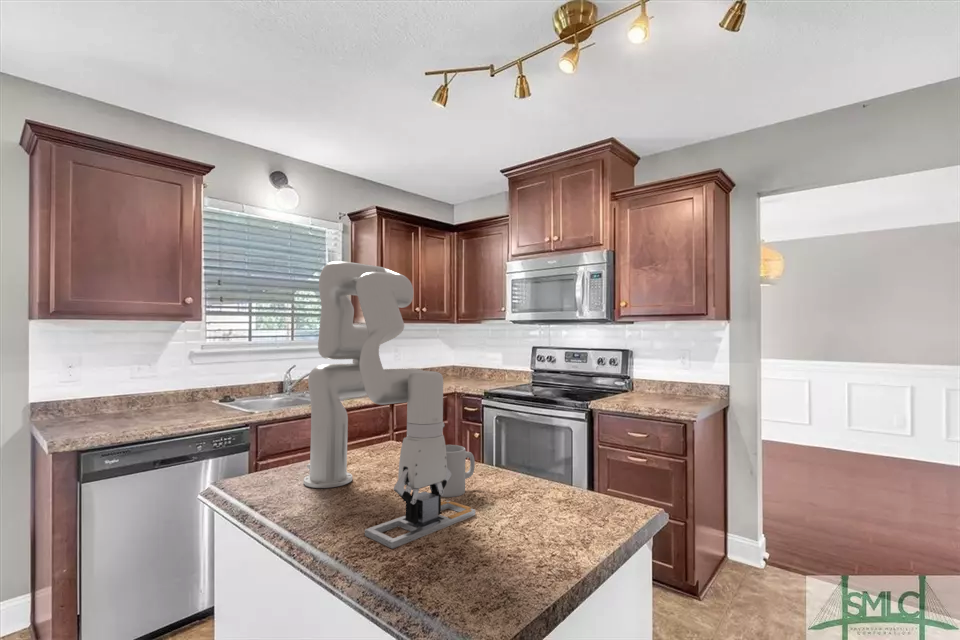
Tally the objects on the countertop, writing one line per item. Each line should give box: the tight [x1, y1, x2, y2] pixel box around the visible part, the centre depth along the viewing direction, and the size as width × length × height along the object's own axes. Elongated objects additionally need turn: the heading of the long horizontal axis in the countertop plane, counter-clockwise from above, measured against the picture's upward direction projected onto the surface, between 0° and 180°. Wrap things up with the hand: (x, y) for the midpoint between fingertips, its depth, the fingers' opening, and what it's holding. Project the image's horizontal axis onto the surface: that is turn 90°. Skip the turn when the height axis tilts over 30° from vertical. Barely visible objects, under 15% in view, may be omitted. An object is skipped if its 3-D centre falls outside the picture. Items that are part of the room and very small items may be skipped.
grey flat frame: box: [364, 500, 476, 550], centre depth 99 cm, size 9×23×1 cm, turn 139°
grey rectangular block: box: [408, 490, 439, 527], centre depth 99 cm, size 4×4×6 cm
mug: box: [441, 444, 476, 498], centre depth 122 cm, size 12×8×11 cm
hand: (423, 516), depth 99 cm, fingers open, 5 cm apart
